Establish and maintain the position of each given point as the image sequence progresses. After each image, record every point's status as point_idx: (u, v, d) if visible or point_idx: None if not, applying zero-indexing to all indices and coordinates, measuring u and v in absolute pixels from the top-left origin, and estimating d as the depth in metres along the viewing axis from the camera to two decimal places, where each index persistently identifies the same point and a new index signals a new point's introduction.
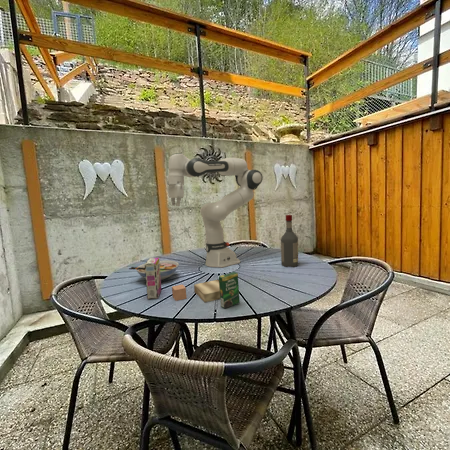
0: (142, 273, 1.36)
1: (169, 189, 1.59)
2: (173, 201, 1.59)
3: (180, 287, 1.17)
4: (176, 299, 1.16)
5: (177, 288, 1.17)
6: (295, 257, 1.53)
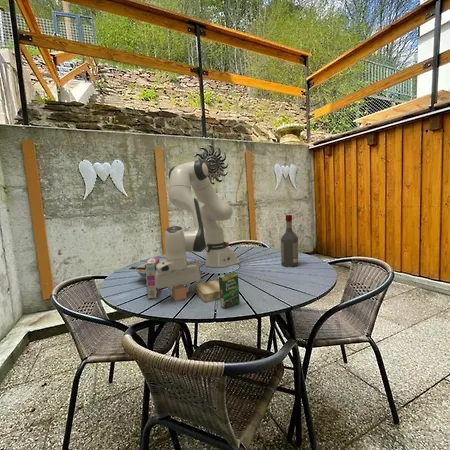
0: (142, 273, 1.36)
1: (161, 277, 1.12)
2: None
3: (180, 287, 1.17)
4: (176, 299, 1.15)
5: (177, 288, 1.17)
6: (295, 257, 1.53)
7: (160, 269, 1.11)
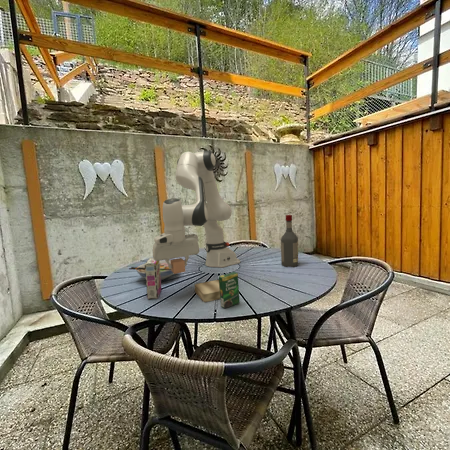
0: (142, 273, 1.36)
1: (159, 249, 1.11)
2: (169, 263, 1.15)
3: (179, 260, 1.16)
4: (175, 272, 1.14)
5: (176, 261, 1.15)
6: (295, 257, 1.53)
7: (158, 241, 1.09)
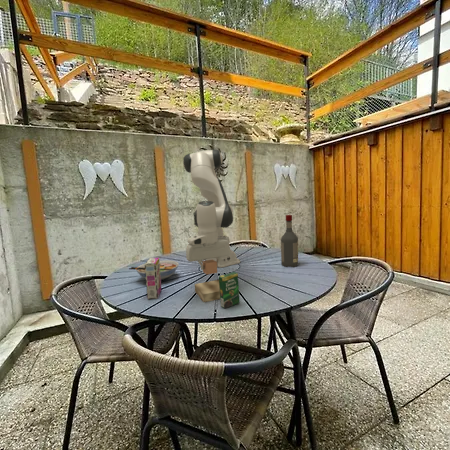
0: (142, 273, 1.36)
1: (193, 250, 1.13)
2: (201, 264, 1.17)
3: (211, 261, 1.18)
4: (207, 273, 1.16)
5: (208, 262, 1.17)
6: (295, 257, 1.53)
7: (193, 242, 1.11)
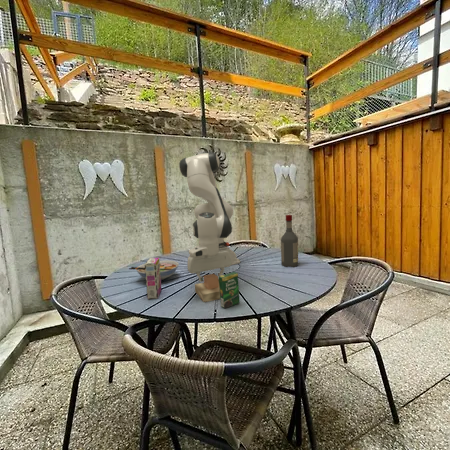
0: (142, 273, 1.36)
1: (194, 262, 1.14)
2: (199, 275, 1.17)
3: (212, 276, 1.19)
4: (209, 287, 1.17)
5: (209, 277, 1.18)
6: (295, 257, 1.53)
7: (194, 254, 1.12)
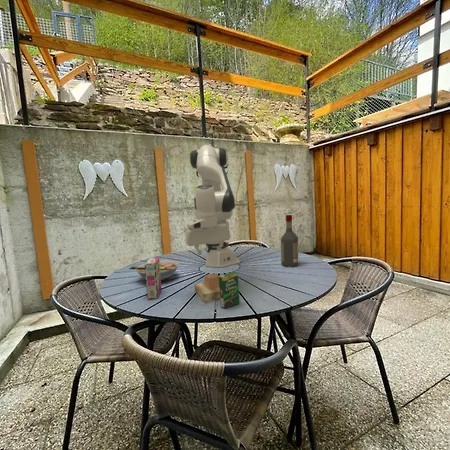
0: (142, 273, 1.36)
1: (193, 234, 1.12)
2: (198, 249, 1.16)
3: (213, 276, 1.19)
4: (210, 287, 1.17)
5: (210, 277, 1.18)
6: (295, 257, 1.53)
7: (192, 226, 1.10)
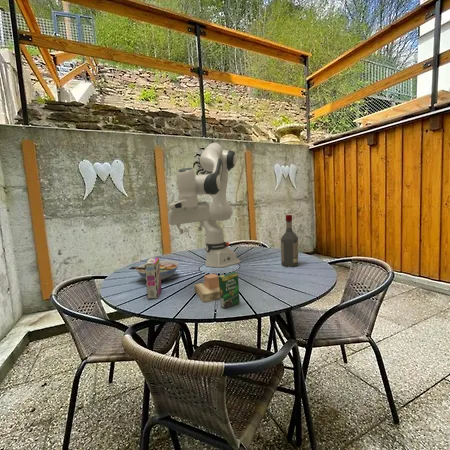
0: (142, 273, 1.36)
1: (174, 214, 1.20)
2: (180, 228, 1.24)
3: (213, 276, 1.19)
4: (209, 287, 1.17)
5: (210, 277, 1.18)
6: (295, 257, 1.53)
7: (174, 206, 1.18)
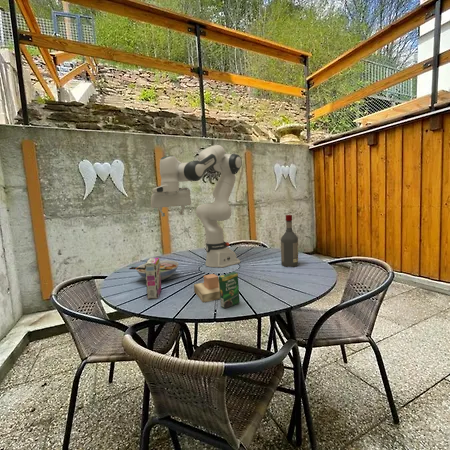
0: (142, 273, 1.36)
1: (156, 198, 1.30)
2: None
3: (212, 276, 1.19)
4: (209, 287, 1.17)
5: (210, 277, 1.18)
6: (295, 257, 1.53)
7: (155, 190, 1.28)
